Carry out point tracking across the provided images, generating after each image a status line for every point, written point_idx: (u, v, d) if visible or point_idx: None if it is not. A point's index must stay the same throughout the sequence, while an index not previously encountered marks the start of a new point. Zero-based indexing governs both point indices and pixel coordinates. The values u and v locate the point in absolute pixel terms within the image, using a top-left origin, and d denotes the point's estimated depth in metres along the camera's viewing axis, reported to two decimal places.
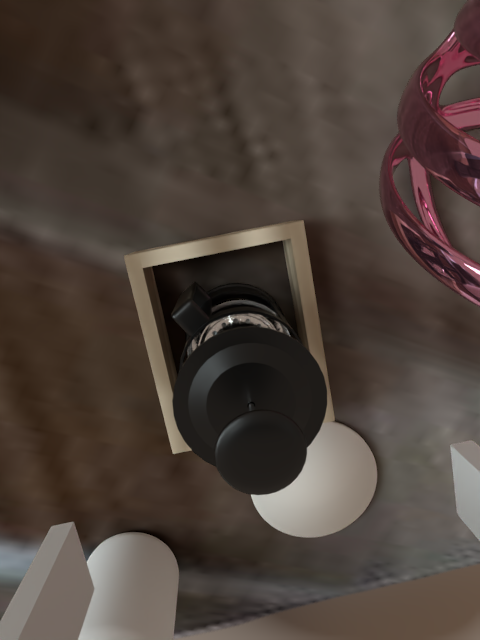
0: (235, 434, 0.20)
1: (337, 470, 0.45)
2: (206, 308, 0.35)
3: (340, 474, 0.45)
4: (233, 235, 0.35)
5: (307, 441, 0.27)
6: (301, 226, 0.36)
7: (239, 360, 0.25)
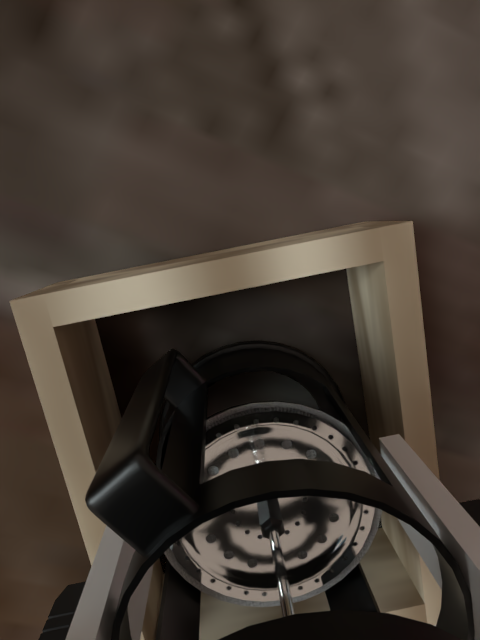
0: None
1: None
2: (194, 422, 0.15)
3: None
4: (256, 254, 0.16)
5: None
6: (407, 234, 0.16)
7: None
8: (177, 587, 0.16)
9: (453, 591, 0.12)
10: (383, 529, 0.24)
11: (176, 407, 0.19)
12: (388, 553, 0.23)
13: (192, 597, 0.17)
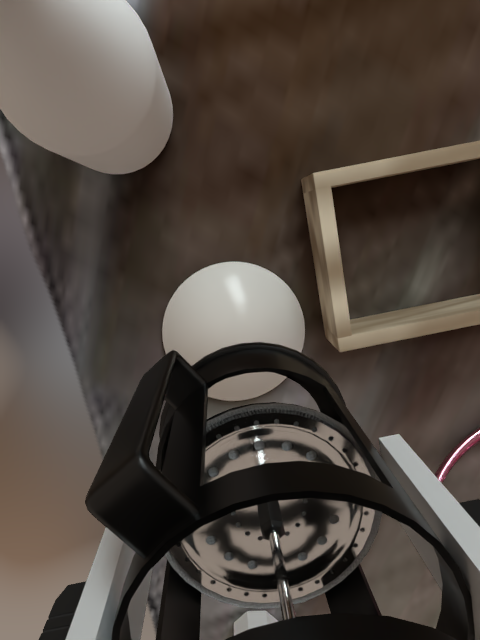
0: None
1: None
2: (194, 423, 0.15)
3: None
4: None
5: None
6: None
7: None
8: (177, 588, 0.16)
9: (453, 593, 0.12)
10: None
11: (176, 408, 0.19)
12: None
13: (192, 598, 0.16)
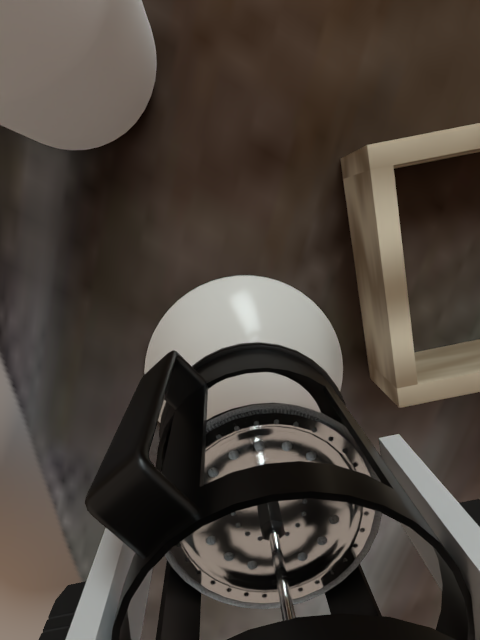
0: None
1: None
2: (194, 424, 0.15)
3: None
4: None
5: None
6: None
7: None
8: (177, 589, 0.16)
9: (453, 593, 0.12)
10: None
11: (176, 408, 0.19)
12: None
13: (192, 599, 0.16)
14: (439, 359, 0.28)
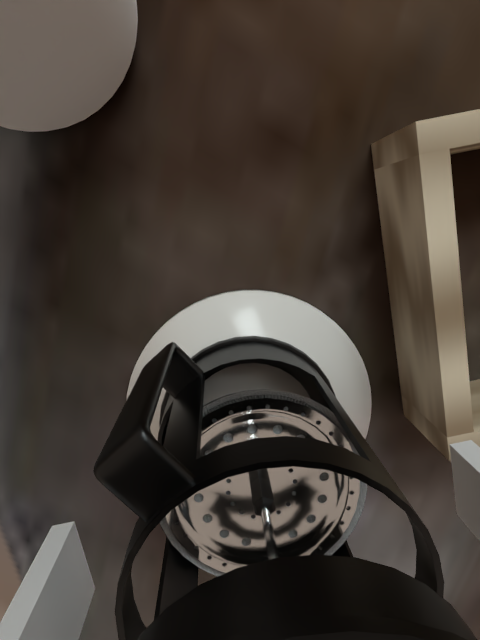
0: None
1: None
2: (191, 408, 0.17)
3: None
4: None
5: None
6: None
7: None
8: (176, 563, 0.18)
9: (425, 556, 0.13)
10: None
11: (175, 397, 0.20)
12: None
13: (190, 572, 0.18)
14: None
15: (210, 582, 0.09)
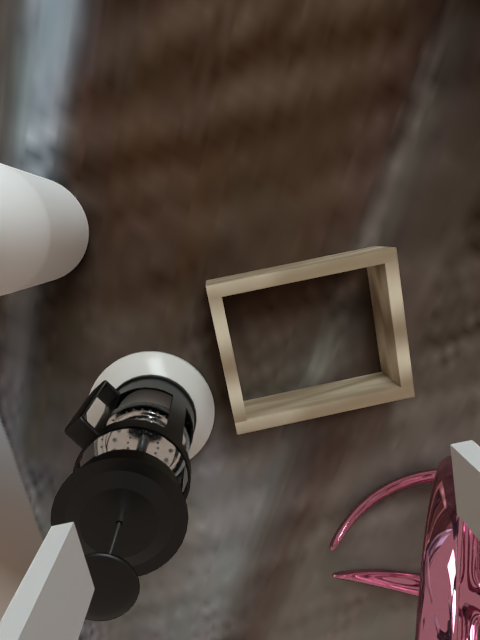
0: None
1: None
2: (109, 410, 0.39)
3: None
4: (406, 340, 0.42)
5: (172, 550, 0.31)
6: (410, 395, 0.43)
7: (106, 486, 0.29)
8: None
9: None
10: (243, 401, 0.47)
11: (107, 405, 0.42)
12: None
13: None
14: (271, 403, 0.45)
15: (95, 456, 0.31)
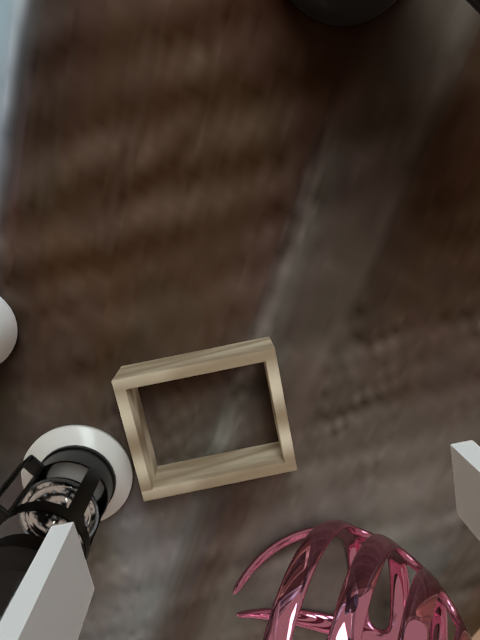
0: None
1: None
2: (28, 485, 0.47)
3: None
4: (287, 424, 0.49)
5: None
6: (292, 469, 0.50)
7: (1, 568, 0.37)
8: None
9: None
10: (157, 466, 0.55)
11: (33, 475, 0.50)
12: (154, 471, 0.53)
13: None
14: (178, 470, 0.53)
15: None
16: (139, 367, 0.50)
